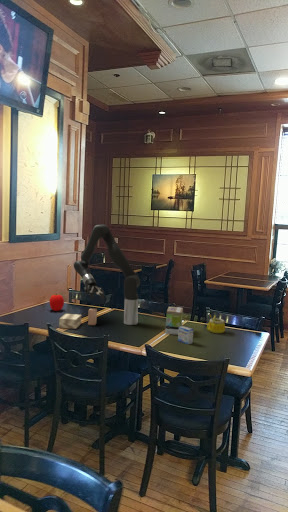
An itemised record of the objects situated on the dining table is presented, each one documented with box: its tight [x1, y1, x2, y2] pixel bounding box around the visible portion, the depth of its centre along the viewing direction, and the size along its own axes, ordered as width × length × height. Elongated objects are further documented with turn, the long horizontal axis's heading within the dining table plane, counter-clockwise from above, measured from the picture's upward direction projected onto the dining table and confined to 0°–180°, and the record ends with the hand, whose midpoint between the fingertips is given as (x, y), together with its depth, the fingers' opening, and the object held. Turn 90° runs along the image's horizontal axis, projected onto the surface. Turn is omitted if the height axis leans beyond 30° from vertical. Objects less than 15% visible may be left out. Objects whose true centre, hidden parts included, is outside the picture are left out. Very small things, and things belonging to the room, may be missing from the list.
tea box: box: [164, 306, 184, 335], centre depth 238 cm, size 15×10×15 cm
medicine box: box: [177, 325, 194, 345], centre depth 216 cm, size 8×4×9 cm, turn 45°
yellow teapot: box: [206, 314, 226, 334], centre depth 240 cm, size 13×11×12 cm
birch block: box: [58, 313, 82, 330], centre depth 241 cm, size 11×13×6 cm
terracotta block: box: [87, 308, 98, 326], centre depth 247 cm, size 5×5×10 cm
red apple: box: [48, 293, 65, 312], centre depth 279 cm, size 11×11×13 cm
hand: (98, 298), depth 248 cm, fingers open, 8 cm apart
